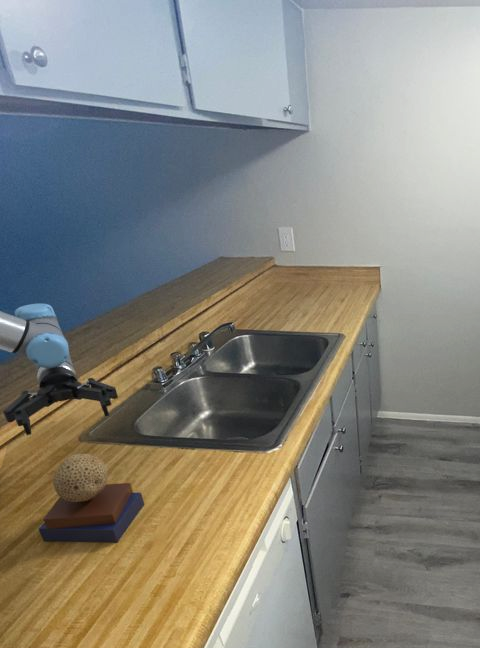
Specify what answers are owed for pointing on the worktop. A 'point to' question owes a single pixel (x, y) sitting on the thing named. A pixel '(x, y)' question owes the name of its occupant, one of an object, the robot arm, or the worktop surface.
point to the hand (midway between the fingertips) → (67, 419)
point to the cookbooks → (93, 516)
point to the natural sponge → (80, 478)
